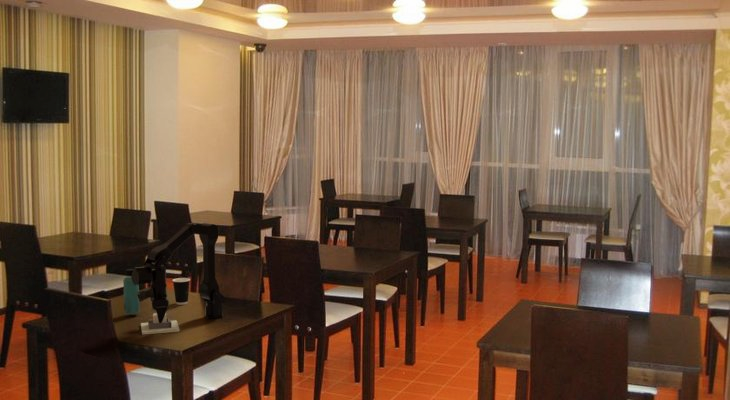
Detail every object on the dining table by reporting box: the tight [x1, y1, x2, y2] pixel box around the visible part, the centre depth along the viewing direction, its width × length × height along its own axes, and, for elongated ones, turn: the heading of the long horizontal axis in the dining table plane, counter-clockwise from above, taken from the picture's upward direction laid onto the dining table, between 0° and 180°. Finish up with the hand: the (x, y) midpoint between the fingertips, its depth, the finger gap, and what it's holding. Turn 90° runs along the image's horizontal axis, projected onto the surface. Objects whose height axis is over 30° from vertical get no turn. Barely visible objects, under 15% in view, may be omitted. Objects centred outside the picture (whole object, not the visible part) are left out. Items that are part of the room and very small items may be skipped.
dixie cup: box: [171, 277, 191, 306], centre depth 341 cm, size 8×8×11 cm
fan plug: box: [150, 312, 167, 323], centre depth 298 cm, size 6×4×5 cm, turn 108°
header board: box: [140, 317, 180, 336], centre depth 299 cm, size 14×14×3 cm
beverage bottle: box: [122, 268, 141, 315], centre depth 318 cm, size 6×7×20 cm
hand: (159, 319), depth 299 cm, fingers open, 9 cm apart
